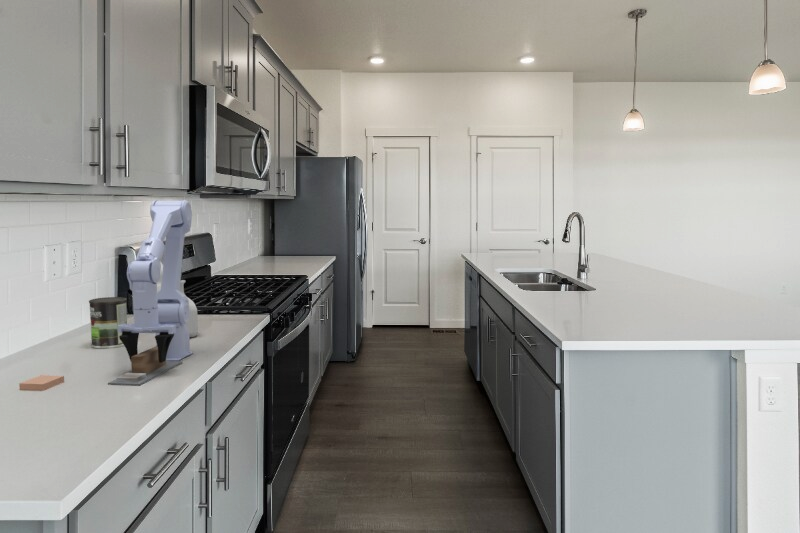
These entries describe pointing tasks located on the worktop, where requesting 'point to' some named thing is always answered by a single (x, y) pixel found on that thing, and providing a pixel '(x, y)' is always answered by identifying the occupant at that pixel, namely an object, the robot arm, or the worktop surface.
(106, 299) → the coffee can
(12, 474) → the worktop surface
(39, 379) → the tile
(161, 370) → the mat
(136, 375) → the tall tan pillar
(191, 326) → the soap bottle
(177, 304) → the robot arm
